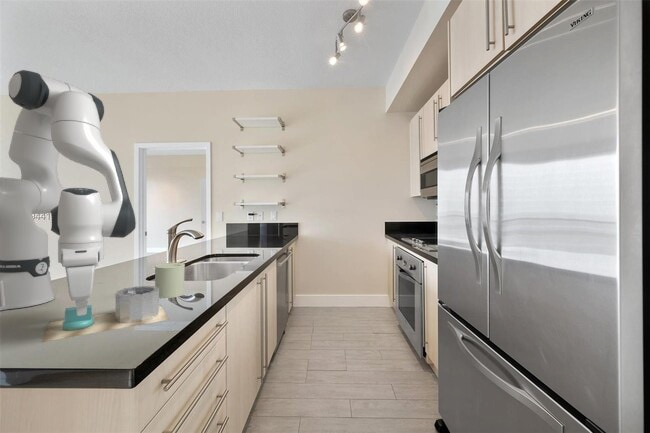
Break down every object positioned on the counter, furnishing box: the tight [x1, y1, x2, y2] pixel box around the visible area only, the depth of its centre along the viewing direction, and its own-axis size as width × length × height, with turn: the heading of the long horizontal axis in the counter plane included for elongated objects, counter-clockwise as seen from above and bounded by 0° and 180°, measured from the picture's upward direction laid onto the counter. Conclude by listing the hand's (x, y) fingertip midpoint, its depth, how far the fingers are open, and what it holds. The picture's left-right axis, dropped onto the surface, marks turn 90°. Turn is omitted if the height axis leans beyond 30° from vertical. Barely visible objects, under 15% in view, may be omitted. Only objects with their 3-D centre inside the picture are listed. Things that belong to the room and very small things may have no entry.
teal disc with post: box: [63, 304, 94, 331], centre depth 75 cm, size 6×6×4 cm
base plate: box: [41, 305, 170, 343], centre depth 79 cm, size 25×14×2 cm, turn 126°
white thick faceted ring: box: [114, 285, 160, 323], centre depth 83 cm, size 10×10×7 cm
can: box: [154, 262, 186, 299], centre depth 104 cm, size 9×9×12 cm
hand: (82, 309), depth 76 cm, fingers open, 8 cm apart
